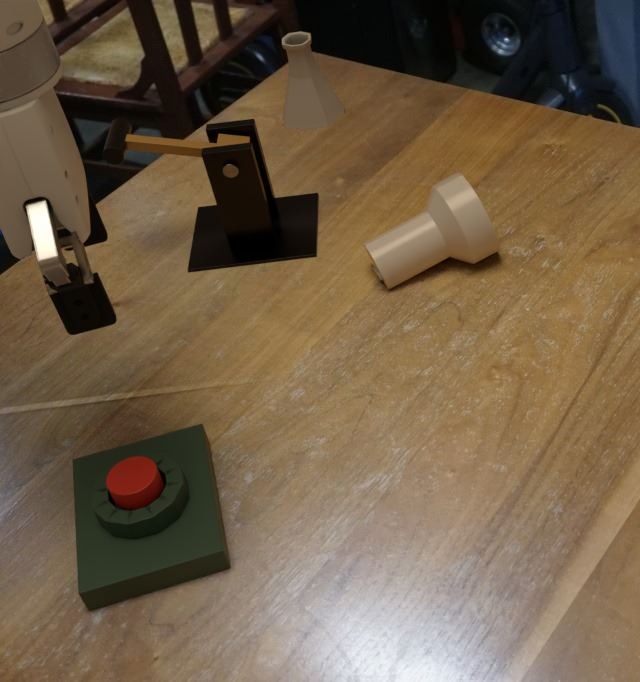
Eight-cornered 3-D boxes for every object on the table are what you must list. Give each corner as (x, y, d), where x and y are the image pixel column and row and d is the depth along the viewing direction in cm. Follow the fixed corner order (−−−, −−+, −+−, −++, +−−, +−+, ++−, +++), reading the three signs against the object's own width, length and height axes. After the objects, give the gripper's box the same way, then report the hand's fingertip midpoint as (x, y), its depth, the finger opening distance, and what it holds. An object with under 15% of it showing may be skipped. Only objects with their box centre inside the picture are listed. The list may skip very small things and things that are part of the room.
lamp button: (112, 479, 81) (104, 464, 80) (161, 465, 81) (154, 450, 80) (114, 516, 78) (107, 500, 77) (165, 501, 79) (158, 486, 78)
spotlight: (514, 261, 99) (484, 188, 95) (404, 322, 98) (368, 250, 93) (482, 227, 106) (452, 157, 101) (378, 284, 104) (343, 215, 100)
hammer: (102, 167, 97) (101, 143, 95) (111, 136, 100) (110, 113, 99) (246, 180, 99) (247, 158, 98) (250, 150, 103) (251, 128, 101)
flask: (292, 103, 125) (273, 21, 118) (353, 104, 124) (338, 22, 117) (273, 138, 120) (252, 55, 113) (337, 139, 119) (320, 56, 112)
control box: (81, 477, 86) (63, 443, 83) (209, 441, 88) (196, 407, 85) (88, 611, 77) (69, 578, 74) (231, 568, 79) (217, 534, 76)
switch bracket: (190, 279, 103) (154, 175, 95) (201, 216, 110) (167, 114, 102) (318, 264, 103) (292, 158, 95) (320, 202, 111) (296, 99, 103)
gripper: (-68, 14, 70) (33, 229, 82) (-86, 150, 58) (36, 380, 69) (51, -11, 72) (134, 203, 83) (59, 116, 59) (155, 347, 71)
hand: (90, 283), depth 76 cm, fingers open, 9 cm apart
